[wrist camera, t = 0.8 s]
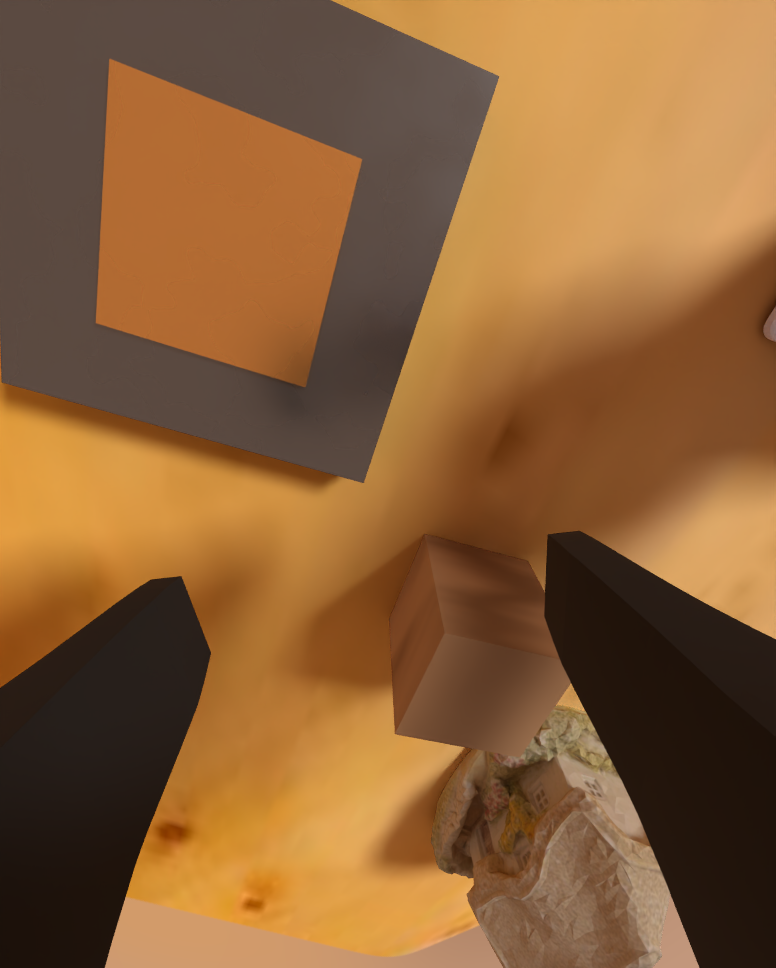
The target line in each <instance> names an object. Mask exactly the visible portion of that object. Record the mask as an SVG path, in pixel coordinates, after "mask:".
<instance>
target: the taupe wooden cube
mask: <svg viewBox="0 0 776 968" xmlns="http://www.w3.org/2000/svg"><path fill="white" fill-rule="evenodd" d="M544 608H545V592H544V590H543V588H542V586H541V585H540V583H539V581H538V579H537V577H536V575H535V573H534V572H533V570H532V568H531V566H530V564H529V562H528V561H525V560H521V559H518V558H514V557H510V556H506V555H503V554H499V553H495V552H491V551H488V550H484V549H480V548H476V547H472V546H469V545H465V544H461V543H457V542H454V541H450V540H446V539H442V538H439V537H435V536H431V535H427V534H424V537H423V539H422V542H421V544H420V546H419V549H418V551H417V554H416V556H415V558H414V561H413V563H412V566H411V568H410V570H409V573H408V575H407V578H406V580H405V582H404V585H403V587H402V589H401V592H400V594H399V597H398V599H397V601H396V604H395V606H394V609H393V611H392V613H391V616H390V618H389V626H390V646H391V666H392V686H393V705H394V725H395V734H397V735H402V736H407V737H413V738H418V739H423V740H429V741H434V742H440V743H445V744H450V745H456V746H461V747H466V748H472V749H477V750H482V751H488V752H493V753H498V754H504V755H509V756H514V757H521V755H522V754H523V752H524V751H525V749H526V748H527V746H528V745H529V743H530V742H531V741H532V739H533V738H534V736H535V735H536V733H537V732H538V730H539V729H540V727H541V726H542V724H543V723H544V722H545V720H546V719H547V717H548V716H549V714H550V713H551V711H552V710H553V708H554V707H555V705H556V704H557V703H558V701H559V700H560V698H561V697H562V695H563V694H564V692H565V691H566V689H567V688H568V687H569V685H570V684H571V682H570V680H569V678H568V676H567V674H566V672H565V670H564V668H563V666H562V664H561V661H560V658H559V656H558V653H557V651H556V648H555V645H554V643H553V640H552V637H551V634H550V631H549V629H548V626H547V623H546V620H545V617H544Z"/></svg>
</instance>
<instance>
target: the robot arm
mask: <svg viewBox="0 0 776 968" xmlns="http://www.w3.org/2000/svg"><path fill="white" fill-rule="evenodd" d="M763 333H764V335H765V337H766V338H768V339H769V340H772V341H774V342H776V306H775V308H774V310H773V311H772V313H771V314H770V316H769V317H768V319H767V321H766V323H765V325H764V330H763ZM544 617H545V620H546V623H547V626H548V629H549V631H550V634H551V637H552V640H553V643H554V645H555V648H556V651H557V653H558V656H559V658H560V661H561V664H562V666H563V668H564V670H565V672H566V674H567V676H568V678H569V680H570V682H571V684H572V686H573V688H574V690H575V691H576V693H577V695H578V697H579V699H580V701H581V703H582V705H583V707H584V709H585V711H586V713H587V715H588V717H589V719H590V721H591V723H592V724H593V726H594V728H595V730H596V732H597V734H598V736H599V738H600V740H601V742H602V744H603V746H604V748H605V750H606V752H607V753H608V755H609V757H610V759H611V761H612V763H613V765H614V767H615V769H616V771H617V773H618V775H619V777H620V779H621V780H622V782H623V784H624V787H625V789H626V791H627V793H628V795H629V797H630V799H631V801H632V804H633V806H634V808H635V810H636V812H637V814H638V817H639V819H640V821H641V824H642V826H643V829H644V831H645V833H646V836H647V838H648V841H649V843H650V845H651V848H652V850H653V853H654V855H655V858H656V860H657V862H658V865H659V867H660V870H661V872H662V874H663V877H664V879H665V882H666V884H667V887H668V889H669V892H670V894H671V897H672V899H673V902H674V904H675V907H676V909H677V912H678V914H679V917H680V919H681V922H682V925H683V927H684V929H685V932H686V935H687V937H688V940H689V942H690V945H691V947H692V950H693V952H694V955H695V957H696V960H697V962H698V965H699V968H776V639H774V638H772V637H770V636H768V635H766V634H764V633H762V632H760V631H758V630H756V629H754V628H752V627H750V626H748V625H746V624H744V623H742V622H740V621H738V620H736V619H734V618H732V617H730V616H729V615H727V614H725V613H723V612H721V611H719V610H717V609H715V608H713V607H711V606H709V605H708V604H706V603H704V602H702V601H700V600H698V599H697V598H695V597H693V596H691V595H689V594H687V593H686V592H684V591H682V590H680V589H679V588H677V587H675V586H673V585H672V584H670V583H668V582H666V581H665V580H663V579H661V578H659V577H658V576H656V575H654V574H653V573H651V572H649V571H648V570H646V569H644V568H642V567H641V566H639V565H637V564H636V563H634V562H632V561H631V560H629V559H627V558H626V557H624V556H622V555H621V554H619V553H617V552H616V551H614V550H612V549H611V548H609V547H607V546H606V545H604V544H602V543H601V542H599V541H597V540H595V539H594V538H592V537H590V536H588V535H586V534H585V533H583V532H581V531H574V532H565V533H556V534H548V540H547V563H546V585H545V608H544ZM210 655H211V652H210V649H209V647H208V644H207V641H206V639H205V636H204V634H203V631H202V628H201V626H200V623H199V621H198V618H197V616H196V613H195V610H194V608H193V605H192V603H191V600H190V597H189V595H188V592H187V590H186V587H185V584H184V582H183V579H182V577H181V576H179V577H170V578H162V579H153V580H150V581H148V582H147V583H145V584H143V585H142V586H140V587H139V588H137V589H136V590H134V591H133V592H131V593H130V594H129V595H127V596H126V597H124V598H123V599H122V600H120V601H119V602H117V603H116V604H115V605H113V606H112V607H111V608H109V609H108V610H107V611H105V612H104V613H102V614H101V615H100V616H98V617H97V618H96V619H94V620H93V621H92V622H90V623H89V624H88V625H86V626H85V627H84V628H82V629H81V630H80V631H78V632H77V633H76V634H74V635H73V636H72V637H70V638H69V639H68V640H66V641H65V642H64V643H62V644H61V645H60V646H58V647H57V648H55V649H54V650H53V651H51V652H50V653H49V654H47V655H46V656H45V657H43V658H42V659H41V660H39V661H38V662H36V663H35V664H34V665H32V666H31V667H29V668H28V669H26V670H25V671H24V672H22V673H21V674H19V675H18V676H17V677H15V678H14V679H12V680H11V681H9V682H8V683H7V684H5V685H4V686H2V687H1V688H0V968H105V965H106V961H107V957H108V954H109V950H110V947H111V943H112V940H113V936H114V933H115V930H116V926H117V923H118V920H119V916H120V913H121V910H122V907H123V904H124V900H125V897H126V894H127V890H128V887H129V884H130V881H131V877H132V874H133V871H134V867H135V864H136V862H137V859H138V856H139V853H140V850H141V848H142V845H143V842H144V839H145V837H146V834H147V831H148V829H149V826H150V824H151V821H152V819H153V816H154V814H155V811H156V809H157V806H158V804H159V801H160V799H161V796H162V794H163V791H164V789H165V786H166V784H167V781H168V779H169V776H170V774H171V771H172V769H173V766H174V764H175V761H176V759H177V756H178V754H179V751H180V749H181V746H182V744H183V741H184V739H185V736H186V734H187V731H188V729H189V726H190V724H191V721H192V718H193V716H194V713H195V711H196V708H197V705H198V702H199V699H200V695H201V691H202V688H203V684H204V680H205V676H206V672H207V668H208V663H209V659H210Z"/></svg>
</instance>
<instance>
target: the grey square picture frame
mask: <svg viewBox="0 0 776 968" xmlns="http://www.w3.org/2000/svg"><path fill="white" fill-rule="evenodd" d="M498 79H499V76H497V75H495V74H493V73H490V72H488V71H486V70H484V69H482V68H479V67H477V66H475V65H473V64H470V63H468V62H466V61H464V60H462V59H459V58H457V57H455V56H453V55H451V54H448V53H446V52H444V51H442V50H439V49H437V48H435V47H433V46H431V45H428V44H426V43H424V42H422V41H420V40H417V39H415V38H413V37H411V36H408V35H406V34H404V33H402V32H400V31H397V30H395V29H393V28H391V27H389V26H386V25H384V24H382V23H380V22H377V21H375V20H373V19H371V18H369V17H366V16H364V15H362V14H360V13H358V12H355V11H353V10H351V9H349V8H346V7H344V6H342V5H340V4H338V3H335V2H333V1H331V0H0V341H1V372H2V383H6V384H10V385H13V386H17V387H20V388H24V389H28V390H31V391H35V392H38V393H42V394H46V395H49V396H53V397H56V398H60V399H64V400H67V401H71V402H74V403H78V404H81V405H85V406H89V407H92V408H96V409H99V410H103V411H107V412H110V413H114V414H117V415H121V416H125V417H128V418H132V419H135V420H139V421H143V422H146V423H150V424H153V425H157V426H161V427H164V428H168V429H171V430H175V431H178V432H182V433H186V434H189V435H193V436H196V437H200V438H204V439H207V440H211V441H214V442H218V443H222V444H225V445H229V446H232V447H236V448H240V449H243V450H247V451H250V452H254V453H257V454H261V455H265V456H268V457H272V458H275V459H279V460H283V461H286V462H290V463H293V464H297V465H301V466H304V467H308V468H311V469H315V470H319V471H322V472H326V473H329V474H333V475H337V476H340V477H344V478H347V479H351V480H354V481H358V482H362V483H364V480H365V477H366V474H367V471H368V468H369V465H370V462H371V459H372V456H373V453H374V450H375V447H376V444H377V441H378V438H379V435H380V432H381V429H382V426H383V423H384V420H385V417H386V414H387V411H388V408H389V405H390V402H391V399H392V396H393V393H394V390H395V387H396V384H397V381H398V378H399V375H400V372H401V369H402V366H403V363H404V360H405V357H406V354H407V351H408V348H409V345H410V342H411V339H412V336H413V333H414V330H415V327H416V324H417V321H418V318H419V315H420V312H421V309H422V306H423V303H424V300H425V297H426V294H427V291H428V288H429V285H430V282H431V279H432V276H433V273H434V270H435V267H436V264H437V261H438V258H439V255H440V252H441V249H442V246H443V243H444V240H445V237H446V234H447V231H448V228H449V225H450V222H451V219H452V216H453V213H454V210H455V207H456V204H457V201H458V198H459V195H460V192H461V189H462V186H463V183H464V180H465V177H466V174H467V171H468V168H469V165H470V162H471V159H472V156H473V153H474V150H475V147H476V144H477V141H478V139H479V136H480V133H481V130H482V127H483V124H484V121H485V118H486V115H487V112H488V109H489V106H490V103H491V100H492V97H493V94H494V91H495V88H496V85H497V82H498Z"/></svg>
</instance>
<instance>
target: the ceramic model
mask: <svg viewBox="0 0 776 968" xmlns="http://www.w3.org/2000/svg"><path fill="white" fill-rule="evenodd" d="M431 843H432V845H433V848H434V854H435V857H436V862H437V865H438V867H439V869H441V870H443V871H444V872H446V873H449V874H453V873H456V874H459V875H461V876H467V877H468V878H474V886H473V887H472V888H471V890H470V891H469V892H468V893H467V897H468V902H469V904H470V906H471V908H472V910H473V912H474V914H475V917H476V919H477V921H478V923H479V924H480V926H481V928H482V930H483V931H484V933H485V935H486V937H487V939H488V941H489V942H490V944H491V946H492V948H493V950H494V952H495V953H496V955H497V957H498V959H499V961H500V963H501V964H502V966H503V968H653V967H654V966H655V964H656V963H657V962H658V961H659V960H660V958H661V957H662V954H661V949H660V944H661V938H662V930H663V926H664V922H665V917H666V913H667V909H668V904H669V897H670V892H669V889H668V887H667V884H666V882H665V879H664V877H663V874H662V872H661V870H660V867H659V865H658V862H657V860H656V858H655V855H654V853H653V850H652V848H651V845H650V843H649V841H648V838H647V836H646V833H645V831H644V829H643V826H642V824H641V821H640V819H639V817H638V814H637V812H636V810H635V808H634V806H633V804H632V801H631V799H630V797H629V795H628V793H627V791H626V789H625V787H624V784H623V782H622V780H621V779H620V777H619V775H618V773H617V771H616V769H615V767H614V765H613V763H612V761H611V759H610V757H609V755H608V753H607V752H606V750H605V748H604V746H603V744H602V742H601V740H600V738H599V736H598V734H597V732H596V730H595V728H594V726H593V724H592V723H591V721H590V719H589V717H588V715H587V713H586V712H584V711H581V710H578V709H575V708H570V707H566V706H555V707H554V708H553V710H552V711H551V713H550V714H549V716H548V717H547V719H546V720H545V722H544V723H543V724H542V726H541V727H540V729H539V730H538V732H537V733H536V735H535V736H534V738H533V739H532V741H531V742H530V743H529V745H528V746H527V748H526V749H525V751H524V752H523V754H522V755H521V757H514V756H509V755H504V754H498V753H493V752H488V751H482V750H477V749H471V750H470V752H469V753H468V754H467V755H466V757H465V758H464V759H463V760H462V762H461V763H460V764H459V766H458V767H457V769H456V770H455V772H454V773H453V774H452V776H451V778H450V779H449V781H448V783H447V784H446V786H445V788H444V790H443V792H442V794H441V796H440V798H439V800H438V802H437V809H436V814H435V818H434V821H433V826H432V838H431Z"/></svg>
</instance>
